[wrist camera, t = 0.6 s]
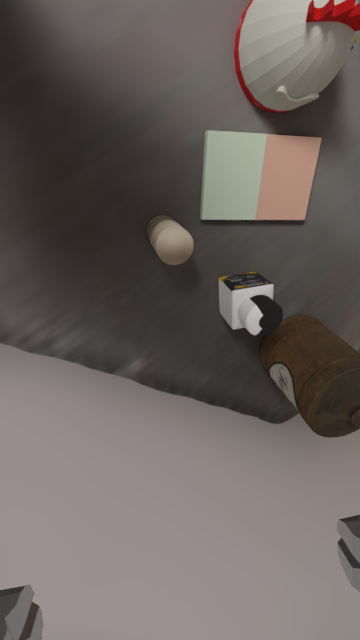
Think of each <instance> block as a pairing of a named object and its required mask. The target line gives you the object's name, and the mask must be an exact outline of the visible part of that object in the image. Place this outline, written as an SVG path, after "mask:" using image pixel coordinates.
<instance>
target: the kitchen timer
mask: <svg viewBox="0 0 360 640" xmlns="http://www.w3.org/2000/svg"><path fill="white" fill-rule="evenodd" d="M358 30H360V3H359V4H358V1H357V0H251V2H250V4H249V5H248V7H247V8H246V10H245V12H244V13H243V15H242V18H241V21H240V24H239V27H238V30H237V33H236V40H235V49H234V58H235V68H236V74H237V76H238V79H239V82H240V85H241V88H242V89H243V91H244V92H245V94H246V95H247V97H248V98H249V100H250V101H251V102H253V103H254V104H255V105H256V106H258V107H259V108H260V109H263V110H266V111H269V112H272V113H275V112H286V111H290V110H293V109H295V108H297V107H300V106H302V105H304V104H307V103H309V102H311V101H313V100H315V99H317V98H319V93H320V92H321V91H322V90H323V89H324V88H325V87H326V86H327V85H328V84H329V83H330V82H331V81H332V80H333V79H334V78H335V76H336V75H337V74H338V72H339V71H340V69H341V68H342V67H343V65H344V64H345V62H346V60H347V58H348V56H349V54H350V51H351V50H352V48H353V45H354V43H355V42H357V31H358Z"/></svg>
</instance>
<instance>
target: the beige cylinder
mask: <svg viewBox="0 0 360 640" xmlns="http://www.w3.org/2000/svg"><path fill="white" fill-rule="evenodd" d="M147 236H148V239H149V241H150V242H151V244H152V246H153V247H154V249H155V251H156V253H157V254H158V256H159V258H160V259H161V260H162V261H163V262H165V263H166V264H169V265H179V264H182V263H184V262H185V261H186V260H188V259H189V257H190V256H191V254H192V252H193V247H194V243H193V239H192V237H191V235H190V234H189V232H188V231H186V230H185V229H184V228H183V227H182V226H181V225H179V224H178V223H177V222H176V221H175V220H173V219H172V218H171V217H169V216H166V215H159V216H156V217H154V218H153V219H152V220H151V221H150V222H149V224H148V226H147Z"/></svg>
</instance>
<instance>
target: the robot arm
mask: <svg viewBox="0 0 360 640" xmlns="http://www.w3.org/2000/svg"><path fill="white" fill-rule="evenodd" d="M337 530H338V532H339V534H340V535H341V539H340V540H339V541H338V543H337V544H338V555H339V558H340V562H341V565H342V567H343V569H344V571H345V574H346V576H347V578H348V579H349V581H350V583H351V585H352V586H353V587H354V588H356V589H357V590H358V591H360V515H357V516H352V517H348V518H344V519H339V521H338V523H337ZM33 596H34V592H33V590H32V588H31V586H30V585H26V586H21V587H15V588H10V589H5V590H0V640H41V639H42V628H43V619H42V612H41V609H40V607H39V606H38V605H36V604H35V603H33V602H32V599H33Z"/></svg>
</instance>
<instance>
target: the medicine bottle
mask: <svg viewBox="0 0 360 640" xmlns="http://www.w3.org/2000/svg"><path fill="white" fill-rule="evenodd" d="M273 289H274V285H273V284H272V283H270V282H269V281H268V280H266V279H265V278H263V277H262V276H261V275H259V274H258V273H257V272H248V273H242V274H236V275H230V276H224V277H219V311H220V313H221V315H222V316H223V317H224V319H225V320H226V321H227V323H228V324H229V325H230V327H231V328H232V329H233V330H235V329H240V328H246V329H247V330H248V331H249V332H250V333H251V334H252V335H254V336H266V335H269V334H271V333H272V332H274V331H275V330H276V329H277V328H278V327H279V325H280V323H281V321H282V317H283V312H282V309H281V307H280V306H279V305H278V304H277V303H276V302H275V301H274V300H273Z"/></svg>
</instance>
